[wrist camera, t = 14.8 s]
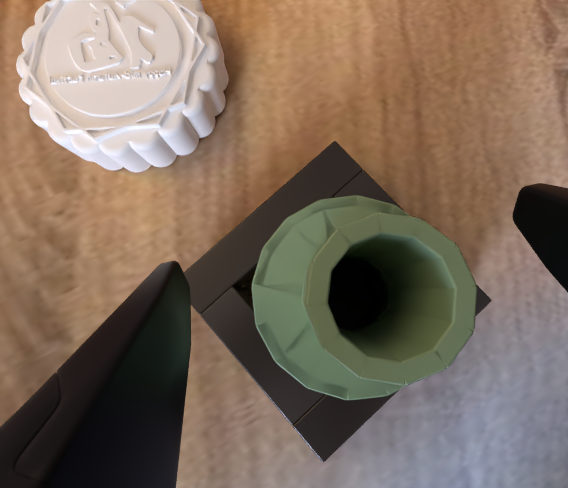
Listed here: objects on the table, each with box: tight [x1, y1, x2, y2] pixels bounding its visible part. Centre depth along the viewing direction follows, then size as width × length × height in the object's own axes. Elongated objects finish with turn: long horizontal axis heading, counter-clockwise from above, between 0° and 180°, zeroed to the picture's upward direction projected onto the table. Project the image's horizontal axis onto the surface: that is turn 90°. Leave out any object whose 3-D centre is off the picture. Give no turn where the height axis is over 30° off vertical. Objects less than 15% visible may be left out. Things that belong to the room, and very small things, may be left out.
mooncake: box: [16, 0, 229, 173], centre depth 20 cm, size 12×12×4 cm
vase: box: [252, 195, 477, 400], centre depth 13 cm, size 6×6×14 cm
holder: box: [184, 141, 491, 462], centre depth 18 cm, size 11×11×3 cm
